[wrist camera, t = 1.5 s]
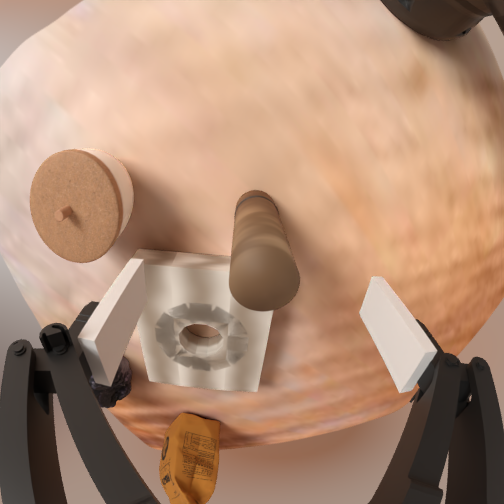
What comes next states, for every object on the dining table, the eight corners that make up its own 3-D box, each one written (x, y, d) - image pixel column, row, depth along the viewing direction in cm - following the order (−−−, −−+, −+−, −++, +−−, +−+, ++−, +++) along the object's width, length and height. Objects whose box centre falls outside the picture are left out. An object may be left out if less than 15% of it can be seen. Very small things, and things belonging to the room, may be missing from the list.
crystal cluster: (101, 386, 44) (91, 427, 36) (53, 341, 38) (34, 384, 29) (152, 373, 43) (146, 421, 34) (101, 320, 37) (83, 371, 28)
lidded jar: (162, 162, 27) (127, 181, 18) (131, 247, 31) (97, 290, 22) (82, 129, 25) (30, 138, 16) (61, 212, 29) (15, 243, 20)
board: (276, 260, 32) (279, 275, 29) (256, 374, 41) (257, 392, 37) (138, 248, 31) (128, 262, 28) (154, 364, 39) (149, 381, 36)
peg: (277, 189, 28) (307, 253, 15) (272, 226, 30) (293, 314, 17) (237, 185, 28) (230, 246, 15) (234, 223, 30) (225, 309, 16)
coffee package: (158, 426, 49) (143, 514, 29) (181, 404, 45) (166, 512, 25) (199, 440, 51) (192, 525, 32) (228, 421, 47) (225, 522, 27)
